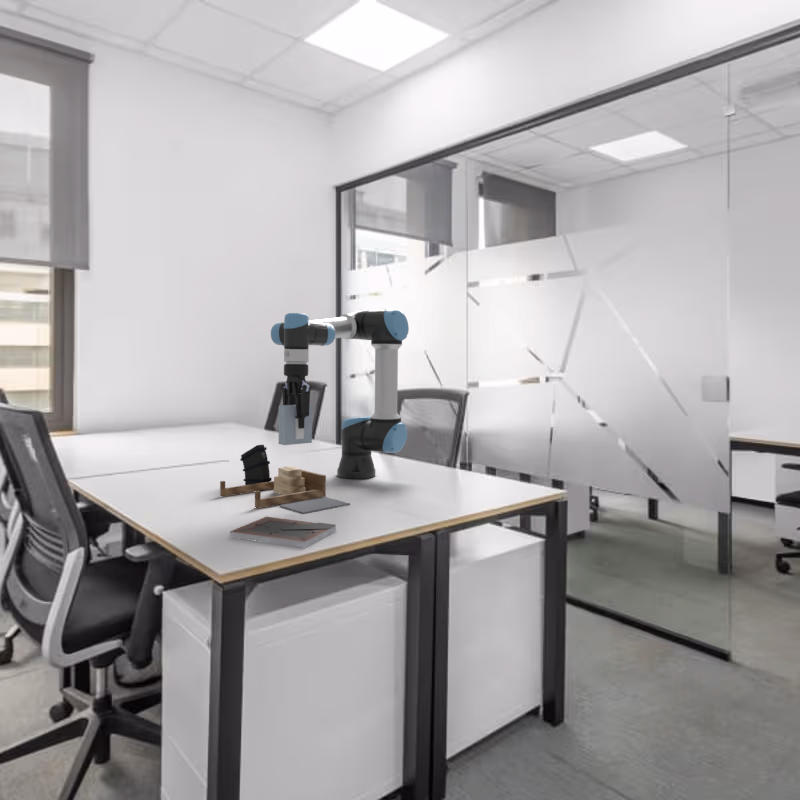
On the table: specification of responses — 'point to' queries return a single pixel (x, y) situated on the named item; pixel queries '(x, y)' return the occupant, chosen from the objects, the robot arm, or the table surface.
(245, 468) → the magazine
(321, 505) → the mat
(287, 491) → the block
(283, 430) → the pale blue chunky brick
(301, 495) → the rack
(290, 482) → the block
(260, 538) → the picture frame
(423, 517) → the table surface
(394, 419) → the robot arm
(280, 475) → the offcut top
